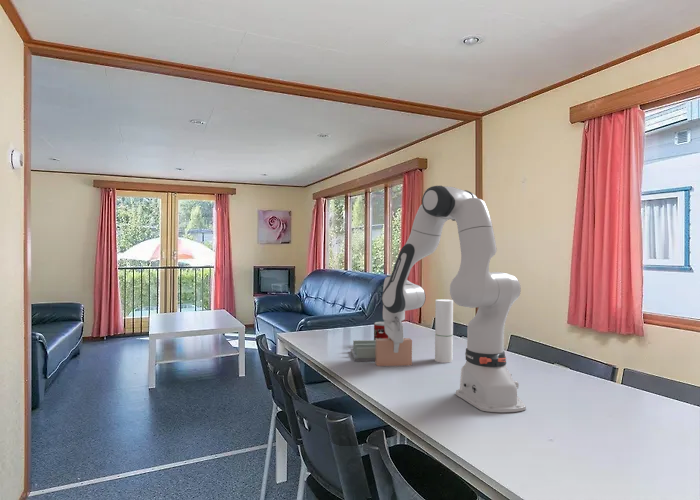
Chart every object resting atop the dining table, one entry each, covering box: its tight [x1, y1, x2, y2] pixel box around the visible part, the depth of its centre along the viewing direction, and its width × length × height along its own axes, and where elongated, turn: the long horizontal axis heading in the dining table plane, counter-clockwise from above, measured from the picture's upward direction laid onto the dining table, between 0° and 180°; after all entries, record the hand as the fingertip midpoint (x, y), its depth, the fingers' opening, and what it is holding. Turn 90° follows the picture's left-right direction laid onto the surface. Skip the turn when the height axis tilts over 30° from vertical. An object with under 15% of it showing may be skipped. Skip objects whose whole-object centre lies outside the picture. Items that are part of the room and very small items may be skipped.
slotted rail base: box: [350, 339, 376, 363], centre depth 184 cm, size 17×22×5 cm
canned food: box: [373, 321, 388, 340], centre depth 202 cm, size 8×8×11 cm
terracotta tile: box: [374, 337, 413, 367], centre depth 171 cm, size 4×14×10 cm, turn 96°
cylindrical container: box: [434, 298, 454, 364], centre depth 177 cm, size 7×7×25 cm
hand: (393, 349), depth 171 cm, fingers open, 7 cm apart
